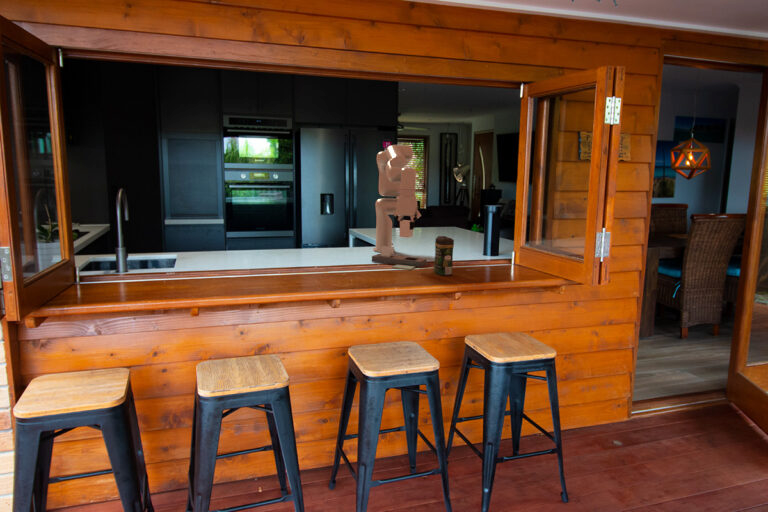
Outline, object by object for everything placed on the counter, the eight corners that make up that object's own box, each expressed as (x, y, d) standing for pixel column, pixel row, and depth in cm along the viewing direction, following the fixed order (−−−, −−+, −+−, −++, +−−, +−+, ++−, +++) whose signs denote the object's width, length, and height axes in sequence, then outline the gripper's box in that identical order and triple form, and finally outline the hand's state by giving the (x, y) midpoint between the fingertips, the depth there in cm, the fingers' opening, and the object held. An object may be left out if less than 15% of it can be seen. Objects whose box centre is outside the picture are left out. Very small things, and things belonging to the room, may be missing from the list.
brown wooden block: (384, 260, 286) (385, 246, 284) (393, 261, 284) (393, 247, 282) (380, 262, 281) (381, 247, 280) (389, 263, 279) (390, 248, 278)
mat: (397, 265, 272) (397, 264, 272) (415, 267, 268) (415, 266, 268) (391, 267, 266) (392, 266, 266) (410, 270, 262) (410, 269, 262)
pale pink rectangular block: (403, 235, 269) (403, 220, 268) (412, 236, 267) (413, 220, 266) (399, 236, 264) (400, 220, 263) (409, 237, 262) (409, 221, 261)
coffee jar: (431, 272, 259) (433, 235, 256) (446, 271, 262) (447, 234, 258) (439, 276, 250) (441, 238, 247) (454, 275, 252) (456, 237, 249)
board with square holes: (378, 259, 289) (379, 253, 289) (426, 264, 278) (426, 258, 277) (371, 261, 281) (371, 256, 281) (420, 267, 270) (420, 261, 269)
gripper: (389, 192, 262) (388, 228, 265) (421, 194, 255) (419, 231, 258) (394, 192, 269) (393, 227, 272) (426, 193, 262) (424, 229, 265)
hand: (406, 228), depth 265 cm, fingers closed on pale pink rectangular block, 5 cm apart
